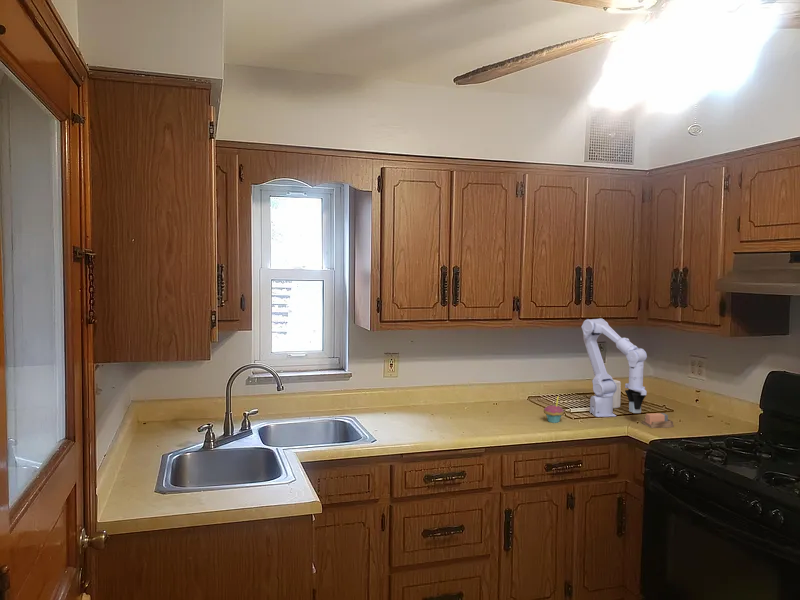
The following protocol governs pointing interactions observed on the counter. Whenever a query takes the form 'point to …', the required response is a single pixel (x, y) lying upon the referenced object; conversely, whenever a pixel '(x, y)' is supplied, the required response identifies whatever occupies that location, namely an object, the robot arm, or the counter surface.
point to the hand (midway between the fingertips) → (634, 407)
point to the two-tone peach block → (656, 417)
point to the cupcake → (554, 412)
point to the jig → (658, 424)
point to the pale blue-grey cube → (632, 409)
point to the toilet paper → (617, 395)
